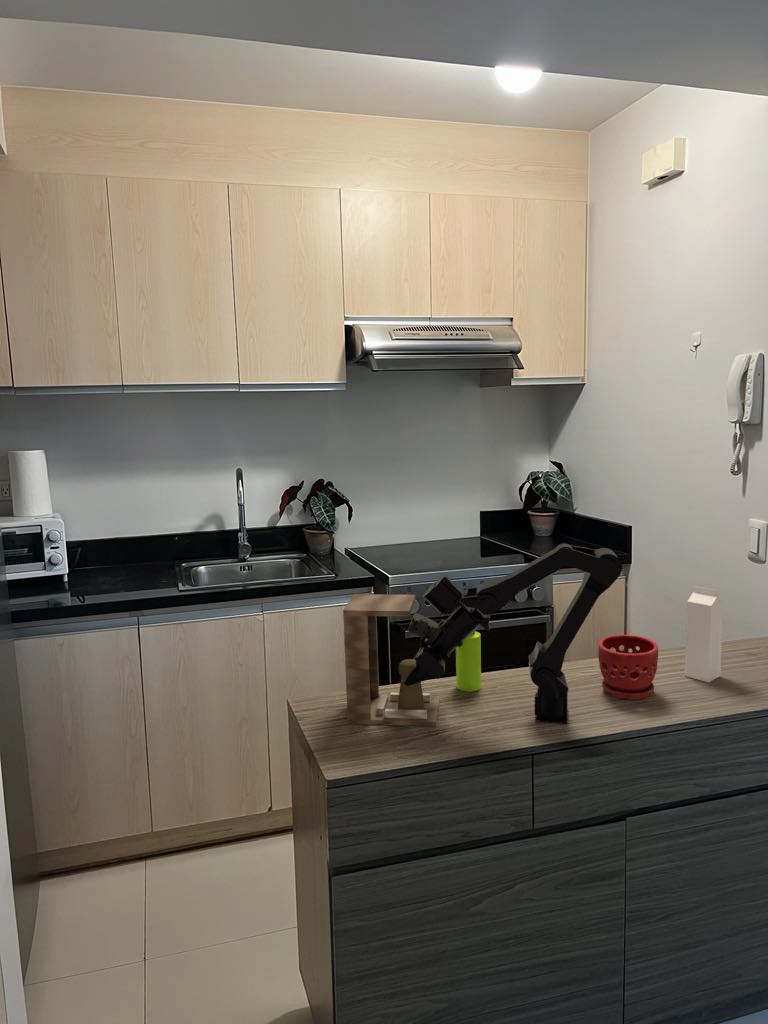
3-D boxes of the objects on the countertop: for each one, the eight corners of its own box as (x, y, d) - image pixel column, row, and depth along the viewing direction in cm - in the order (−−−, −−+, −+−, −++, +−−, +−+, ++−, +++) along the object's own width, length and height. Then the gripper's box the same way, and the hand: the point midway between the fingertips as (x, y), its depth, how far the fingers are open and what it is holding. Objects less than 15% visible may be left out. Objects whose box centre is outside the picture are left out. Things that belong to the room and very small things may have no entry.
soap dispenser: (466, 694, 177) (465, 611, 174) (452, 684, 183) (450, 604, 180) (488, 690, 179) (487, 608, 176) (473, 680, 185) (472, 601, 182)
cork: (415, 716, 163) (414, 667, 162) (392, 710, 167) (390, 662, 165) (430, 706, 168) (429, 659, 167) (407, 701, 172) (406, 654, 170)
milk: (696, 670, 188) (699, 583, 185) (720, 676, 183) (724, 587, 180) (684, 676, 184) (687, 588, 181) (708, 683, 180) (711, 592, 176)
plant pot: (591, 682, 182) (592, 634, 180) (647, 681, 182) (648, 633, 180) (605, 704, 169) (606, 653, 167) (665, 703, 169) (666, 652, 167)
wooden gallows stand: (439, 701, 173) (437, 594, 169) (435, 726, 161) (433, 611, 157) (357, 699, 176) (354, 594, 172) (347, 723, 163) (343, 610, 159)
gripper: (432, 591, 172) (386, 638, 176) (426, 615, 154) (374, 666, 157) (468, 625, 172) (421, 671, 176) (465, 653, 154) (413, 703, 157)
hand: (407, 676), depth 167 cm, fingers open, 9 cm apart
